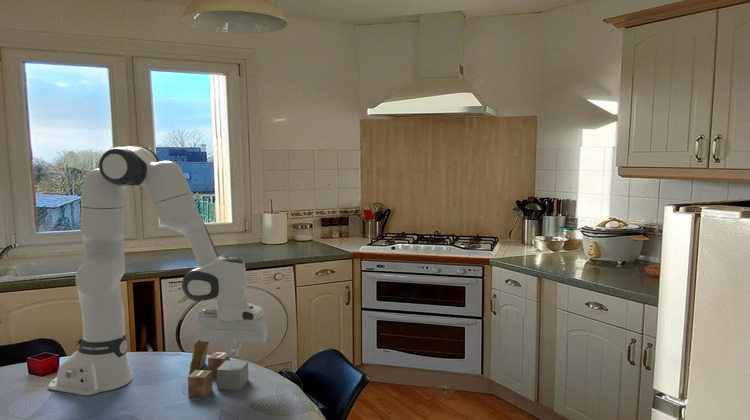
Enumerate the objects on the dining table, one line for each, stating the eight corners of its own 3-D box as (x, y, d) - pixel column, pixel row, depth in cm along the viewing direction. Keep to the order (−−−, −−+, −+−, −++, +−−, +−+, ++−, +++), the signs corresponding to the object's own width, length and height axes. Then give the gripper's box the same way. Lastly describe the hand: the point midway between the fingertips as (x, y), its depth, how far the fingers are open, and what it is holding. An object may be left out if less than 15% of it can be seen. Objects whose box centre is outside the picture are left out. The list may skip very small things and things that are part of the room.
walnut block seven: (208, 376, 167) (207, 357, 166) (214, 370, 172) (214, 351, 171) (224, 377, 166) (223, 358, 166) (230, 371, 171) (229, 352, 170)
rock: (200, 371, 165) (221, 355, 174) (184, 348, 166) (206, 334, 174) (181, 385, 170) (202, 369, 179) (166, 362, 170) (188, 348, 179)
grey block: (217, 389, 158) (216, 369, 158) (226, 379, 165) (225, 360, 165) (240, 390, 158) (240, 370, 157) (248, 380, 164) (248, 361, 164)
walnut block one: (188, 397, 153) (187, 376, 152) (196, 389, 158) (195, 369, 157) (205, 398, 152) (205, 377, 152) (212, 390, 157) (212, 369, 157)
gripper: (193, 312, 157) (195, 358, 158) (262, 314, 155) (263, 361, 156) (202, 306, 163) (203, 350, 165) (268, 308, 161) (269, 353, 163)
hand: (233, 356), depth 160 cm, fingers closed
